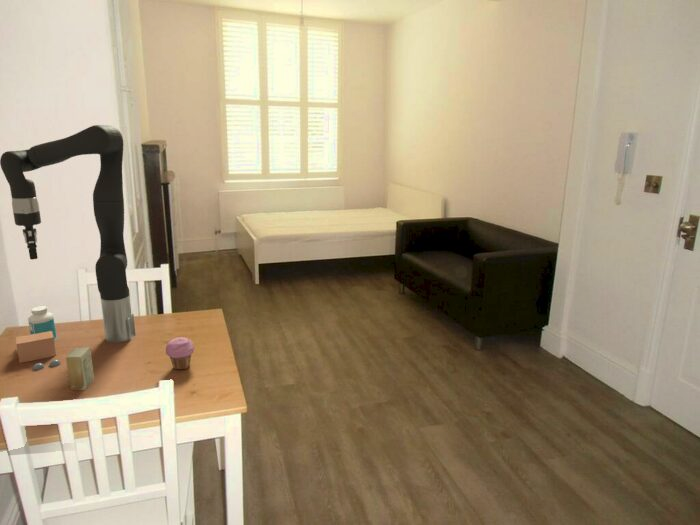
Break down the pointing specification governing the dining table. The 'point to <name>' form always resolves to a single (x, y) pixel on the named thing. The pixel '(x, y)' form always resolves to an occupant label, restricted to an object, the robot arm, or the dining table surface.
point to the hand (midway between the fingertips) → (33, 256)
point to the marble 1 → (38, 366)
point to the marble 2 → (54, 363)
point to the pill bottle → (41, 321)
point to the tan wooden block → (35, 346)
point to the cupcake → (180, 352)
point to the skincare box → (80, 368)
